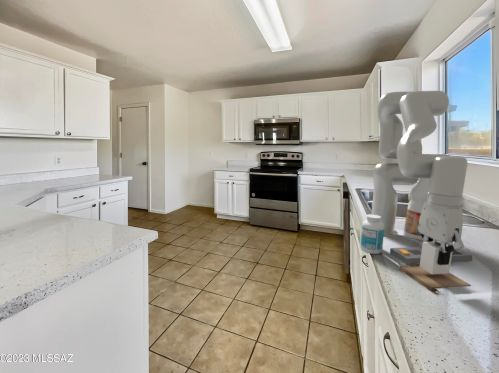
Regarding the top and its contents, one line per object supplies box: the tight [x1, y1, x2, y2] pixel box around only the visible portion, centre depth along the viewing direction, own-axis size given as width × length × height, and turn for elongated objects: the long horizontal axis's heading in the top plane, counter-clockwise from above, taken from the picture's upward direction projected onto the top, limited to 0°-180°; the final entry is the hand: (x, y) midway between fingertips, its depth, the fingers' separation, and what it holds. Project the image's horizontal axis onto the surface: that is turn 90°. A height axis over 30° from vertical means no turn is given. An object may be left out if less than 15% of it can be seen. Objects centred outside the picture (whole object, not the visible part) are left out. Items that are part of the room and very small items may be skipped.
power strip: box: [389, 246, 474, 265], centre depth 85 cm, size 8×24×4 cm, turn 96°
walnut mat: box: [399, 264, 471, 292], centre depth 74 cm, size 12×12×1 cm
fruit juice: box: [403, 178, 430, 241], centre depth 102 cm, size 9×9×28 cm
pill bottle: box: [359, 214, 385, 255], centre depth 91 cm, size 8×7×14 cm
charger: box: [419, 240, 452, 274], centre depth 72 cm, size 4×6×9 cm
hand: (435, 259), depth 72 cm, fingers closed on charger, 4 cm apart
